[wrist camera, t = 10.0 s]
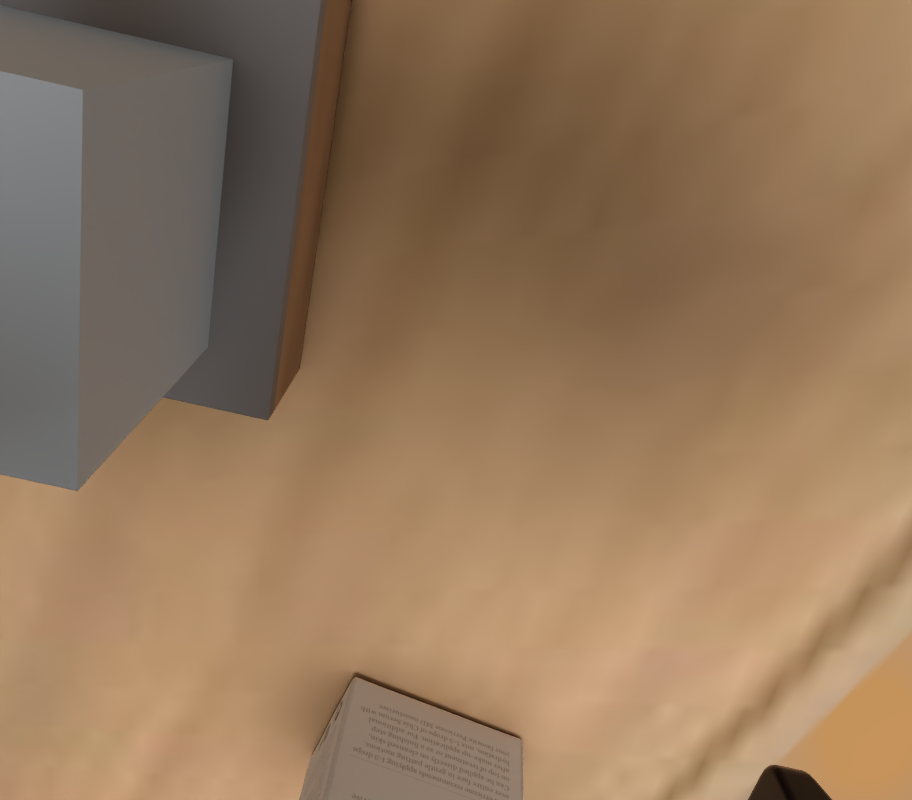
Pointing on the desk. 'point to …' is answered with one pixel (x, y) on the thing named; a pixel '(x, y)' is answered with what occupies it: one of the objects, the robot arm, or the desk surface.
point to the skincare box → (409, 753)
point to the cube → (100, 234)
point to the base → (251, 174)
